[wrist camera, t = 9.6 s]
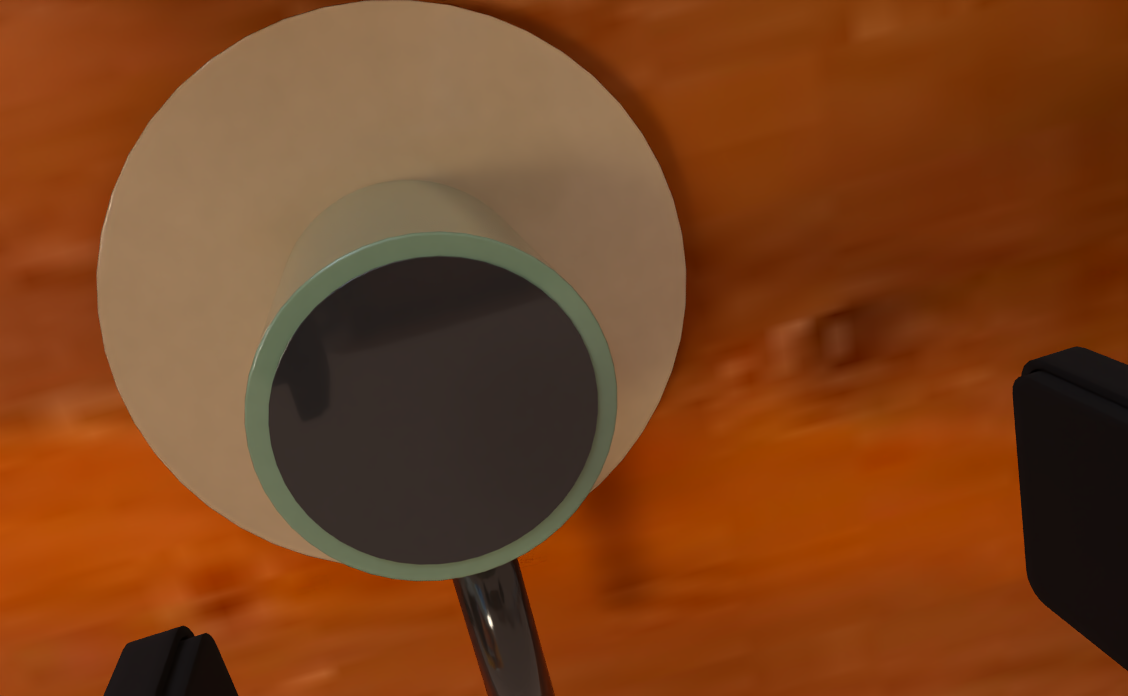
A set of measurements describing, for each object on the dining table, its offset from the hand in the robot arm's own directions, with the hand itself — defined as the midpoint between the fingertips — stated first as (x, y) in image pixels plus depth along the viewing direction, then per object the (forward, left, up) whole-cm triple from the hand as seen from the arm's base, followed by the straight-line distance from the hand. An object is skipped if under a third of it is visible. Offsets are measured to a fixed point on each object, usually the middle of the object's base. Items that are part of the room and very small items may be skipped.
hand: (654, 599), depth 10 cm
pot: (+3, 0, -16) cm, 16 cm away
